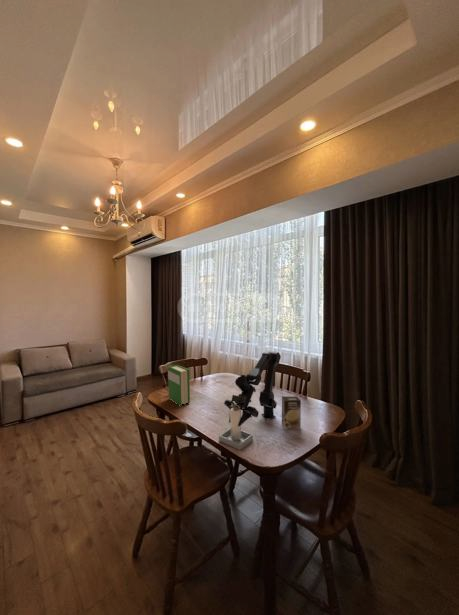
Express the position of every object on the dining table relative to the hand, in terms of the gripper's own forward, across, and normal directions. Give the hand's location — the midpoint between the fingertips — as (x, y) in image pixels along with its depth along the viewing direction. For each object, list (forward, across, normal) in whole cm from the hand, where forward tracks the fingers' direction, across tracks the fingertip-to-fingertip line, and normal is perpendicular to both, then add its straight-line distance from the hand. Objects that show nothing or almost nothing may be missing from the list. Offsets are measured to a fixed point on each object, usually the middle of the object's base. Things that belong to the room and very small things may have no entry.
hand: (234, 424), depth 125 cm
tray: (+6, 0, +7) cm, 9 cm away
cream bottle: (+4, 0, +6) cm, 7 cm away
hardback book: (-5, -62, +18) cm, 65 cm away
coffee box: (-15, +16, +28) cm, 36 cm away
